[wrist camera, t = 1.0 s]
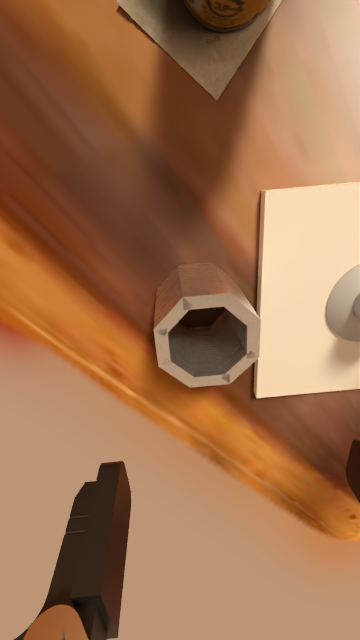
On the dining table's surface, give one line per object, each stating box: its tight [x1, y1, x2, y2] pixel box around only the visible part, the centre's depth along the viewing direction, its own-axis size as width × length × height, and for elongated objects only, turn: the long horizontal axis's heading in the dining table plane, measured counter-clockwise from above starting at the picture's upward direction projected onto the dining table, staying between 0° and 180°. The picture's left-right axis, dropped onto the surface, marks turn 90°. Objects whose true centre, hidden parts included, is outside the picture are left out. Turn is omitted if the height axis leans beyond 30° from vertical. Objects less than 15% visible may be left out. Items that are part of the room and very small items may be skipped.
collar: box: [153, 262, 261, 388], centre depth 21 cm, size 6×6×7 cm
